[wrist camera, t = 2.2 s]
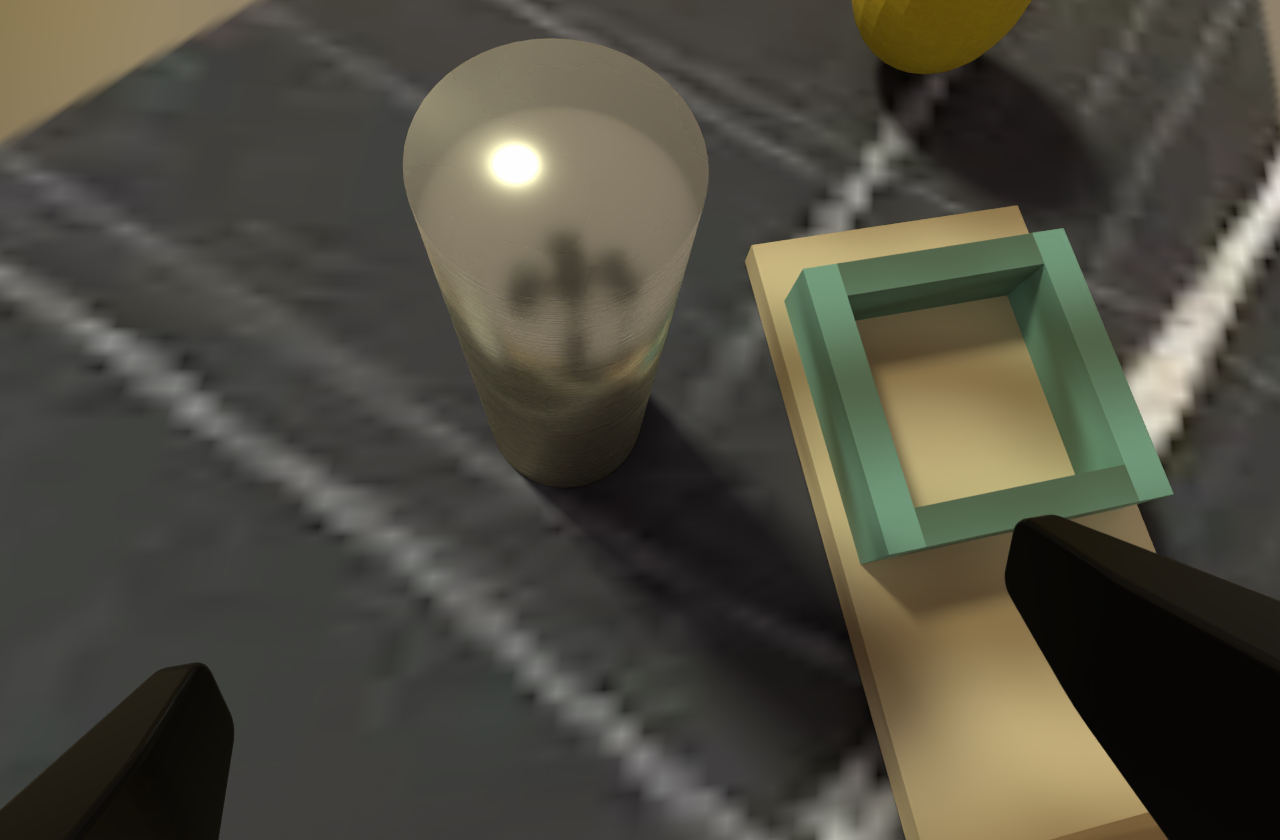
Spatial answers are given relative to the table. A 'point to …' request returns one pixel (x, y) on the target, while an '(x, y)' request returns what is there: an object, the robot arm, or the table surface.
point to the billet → (558, 240)
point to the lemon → (934, 30)
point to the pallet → (959, 499)
